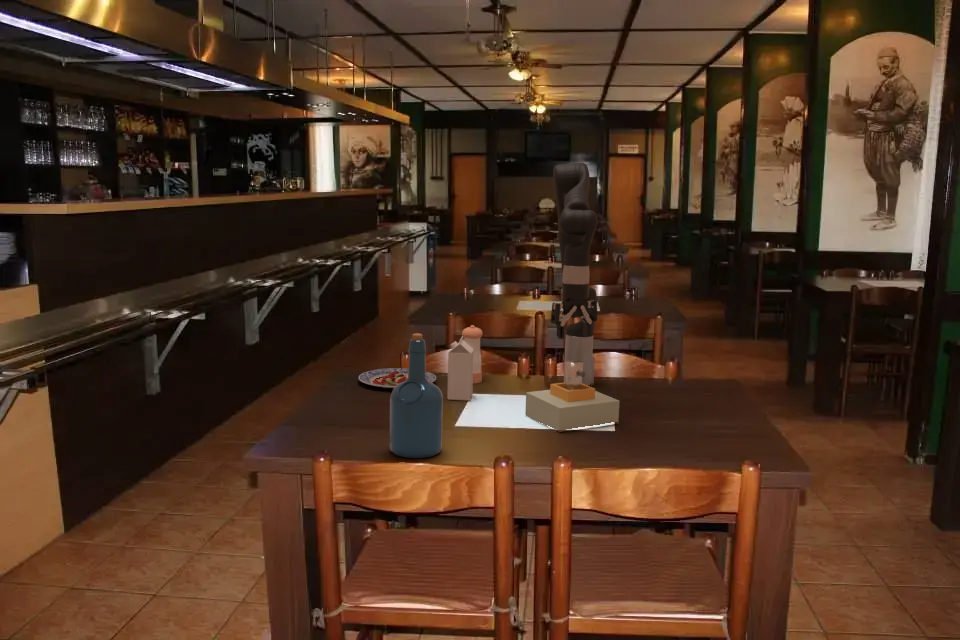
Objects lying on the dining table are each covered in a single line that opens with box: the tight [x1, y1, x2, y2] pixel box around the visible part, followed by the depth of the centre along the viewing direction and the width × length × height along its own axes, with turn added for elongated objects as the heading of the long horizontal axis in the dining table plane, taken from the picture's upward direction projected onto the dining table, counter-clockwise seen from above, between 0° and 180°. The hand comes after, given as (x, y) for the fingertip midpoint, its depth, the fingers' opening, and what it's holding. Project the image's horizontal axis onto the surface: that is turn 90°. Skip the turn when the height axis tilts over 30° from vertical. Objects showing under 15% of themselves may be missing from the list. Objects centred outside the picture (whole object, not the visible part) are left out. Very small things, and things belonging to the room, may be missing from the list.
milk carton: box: [447, 335, 474, 401], centre depth 259 cm, size 7×7×19 cm
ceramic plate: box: [358, 367, 437, 390], centre depth 277 cm, size 26×26×3 cm
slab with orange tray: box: [524, 382, 620, 430], centre depth 239 cm, size 20×19×10 cm
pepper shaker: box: [461, 324, 484, 384], centre depth 281 cm, size 7×7×19 cm
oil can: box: [563, 360, 585, 390], centre depth 237 cm, size 7×5×10 cm
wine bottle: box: [389, 332, 444, 459], centre depth 206 cm, size 14×13×30 cm
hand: (573, 337), depth 237 cm, fingers open, 8 cm apart
